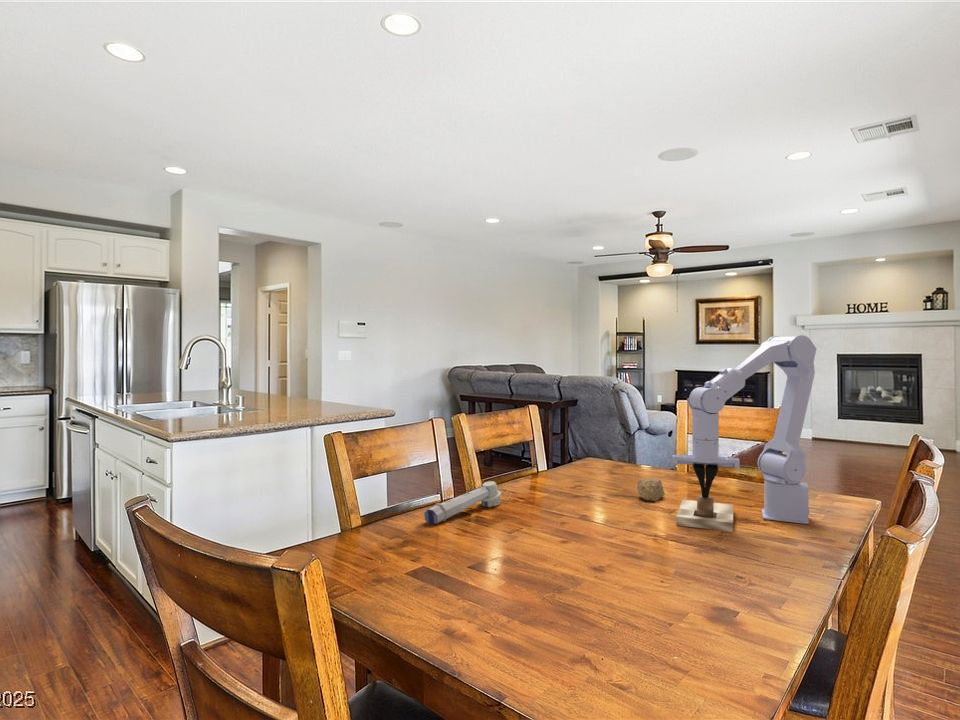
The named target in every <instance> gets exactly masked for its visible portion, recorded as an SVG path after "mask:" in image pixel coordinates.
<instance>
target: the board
mask: <svg viewBox="0 0 960 720" xmlns="http://www.w3.org/2000/svg"><path fill="white" fill-rule="evenodd" d="M675 517H676V519H675V522H676V523H675V525H676V526H682V527H689V528H690V527H691V528H698V529H705V530H716V531H722V532H731V533H733V532H734V504H731V503H730V504H728V503H720V502H714V518H707V517H698V516H697V500H692V499H691V500H690V499H682V500H681V503H680V506H679V509H678V511H677V514H676V516H675Z"/></svg>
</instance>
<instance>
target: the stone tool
mask: <svg viewBox="0 0 960 720" xmlns="http://www.w3.org/2000/svg"><path fill="white" fill-rule="evenodd" d="M662 483H663V482H662V481H661V479H660V478H658V477H648V478H647V477H644V478H643V477H642V478H641V479H639V480H638V481H637V493H638V495H639V496H640V497H641V498H642V499H643V500H645V501H651V502H658V501H659V500H660V499H663V497H664V496H665V494H666V493H665V490H664V486H663V484H662Z"/></svg>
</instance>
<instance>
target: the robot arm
mask: <svg viewBox="0 0 960 720" xmlns="http://www.w3.org/2000/svg"><path fill="white" fill-rule="evenodd" d="M816 353H817V347H816V345H815V343H813V341H812V340H811V339H810V337H808V336H806V335H804V334H802V335H801V334H800V335H793V336H792V335H789V336H785V335H784V336H783V335H782V336H780V335H779V336H778V335H775V336H770V337H769V338H768V339H767V340H765V341H763V342H762V343H761V344H760V346H759V348H757V349H755V351H754V352H753V353H751V354H750V355H749V356H748V357H747V358H746V359H744V360H743V361H742V362H741V363H740V364H739V365H737V366H736V367H735V368H732V367H727V368H722V369H720V370H719V371H718V372H719V374H717V375H716V376H715V377H713V378H712V379H710V380H709V381H707V380H706V382H704V385H703V387H702V386H700V387H696V388H693V390H692V391H690V394H689V397H688V398H686V403H687V406H688V407H689V408H690V410H691V416H692V422H691V423H692V426H691V427H692V429H691V430H692V433H691V434H692V446H691V447H692V450H691V451H692V452H691V453H692V454H672V465H689V466H690V465H692V467H693V471H694V472H695V474H696V477H697V479H698V483H699V485H700V491H701V495H702V497H709V496H710V492H711V491H710V490H711V488H712V485H713V482H714V479H715V478H716V476H717V474H718V472H719V467H723V468H724V467H725V468H734V469H740V465H741V464H740V463H741V462H740V458H738V457H736V458H735V457H727V456H719V454H720V452H719V451H720V450H719V441H720V440H719V434H720V433H719V431H720V430H719V426H720V425H719V423H720V421H719V420H720V416H719V414H720V413H719V412H721V411H722V410H723V408H724V407H725V405H726V404H725V403H726V402H727V401H728V400H729V399H730V398H731V397H733V396H734V395H736V394H737V393H738V392H739V391H741V390H742V389H743V388H745V386H746V380H747V379H748V378H750V377H751V376H753V375H754V374H756V373H757V372H759V371H760V370H762V369H763V368H765V367H766V366H768V365H769V364H771V363H773V364H774V365H776V366H777V368H780V369H781V370H782V371H783V372H784V374H785V375H786V377H787V378H786V383H785V387H784V391H783V395H782V399H781V404H780V409H779V413H778V418H777V421H776V426H775V431H774V435H773V438H772V439H771V440H769V441H768V442H766V443H765V444H764V447H763V450H762V452H761V453H760V454H759V456H758V458H757V468H758V470H759V472H761V474H762V478H763V479H764V481H763V483H764V486H763V487H764V489H763V490H764V494H763V495H764V496H763V499H764V501H763V504H764V508H762V509H761V515H762V519H763V520H769V521H777V522H788V523H796V524H807V525H808V524H809V515H810V507H809V502H810V501H809V499H810V498H809V497H810V495H809V485H808V483H806V482H801V481H802V480H803V479H804V477H805V476H806V473H807V466H806V457H807V454H806V452H805V451H804V450H803V448H802V447H801V446H800V440H801V436H802V431H803V427H804V424H805V418H806V414H807V411H808V410H807V409H808V406H809V401H810V395H811V392H812V388H813V383H814V378H815V374H816V373H815V362H814V361H815V357H816Z"/></svg>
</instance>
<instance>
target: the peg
mask: <svg viewBox="0 0 960 720" xmlns="http://www.w3.org/2000/svg"><path fill="white" fill-rule="evenodd" d="M714 500H715V499H714V497H712V496H711V495H709V497H702V494H701V495H697V496H696V501H697V516H698V517H707V518H714V503H715V502H714Z"/></svg>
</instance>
